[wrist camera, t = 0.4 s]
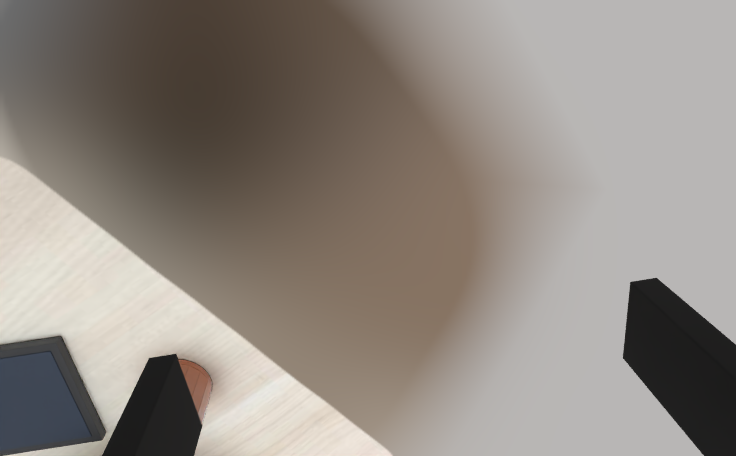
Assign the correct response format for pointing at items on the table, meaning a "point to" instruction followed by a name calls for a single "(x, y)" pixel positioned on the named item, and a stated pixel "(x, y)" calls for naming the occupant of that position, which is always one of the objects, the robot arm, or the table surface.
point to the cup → (197, 385)
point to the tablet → (43, 399)
